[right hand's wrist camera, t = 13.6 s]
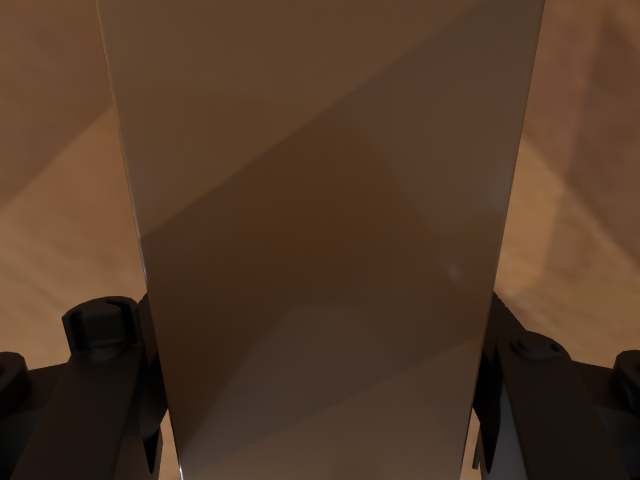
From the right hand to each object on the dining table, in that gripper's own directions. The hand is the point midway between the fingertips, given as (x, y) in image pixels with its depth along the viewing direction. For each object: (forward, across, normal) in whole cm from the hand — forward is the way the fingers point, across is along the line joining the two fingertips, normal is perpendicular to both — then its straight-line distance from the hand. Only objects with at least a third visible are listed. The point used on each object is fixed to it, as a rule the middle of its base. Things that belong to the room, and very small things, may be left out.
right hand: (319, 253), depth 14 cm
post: (+1, 0, -29) cm, 29 cm away
